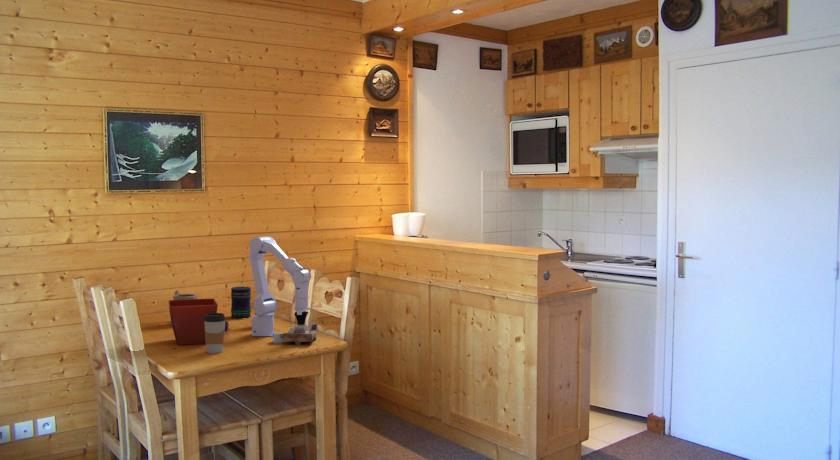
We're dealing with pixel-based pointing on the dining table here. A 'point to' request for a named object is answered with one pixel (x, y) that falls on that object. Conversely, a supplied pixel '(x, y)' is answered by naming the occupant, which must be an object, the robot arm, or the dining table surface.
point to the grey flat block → (301, 335)
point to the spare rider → (278, 337)
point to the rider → (300, 328)
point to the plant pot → (190, 319)
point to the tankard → (183, 297)
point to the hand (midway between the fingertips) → (301, 328)
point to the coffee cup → (214, 332)
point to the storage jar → (240, 302)
